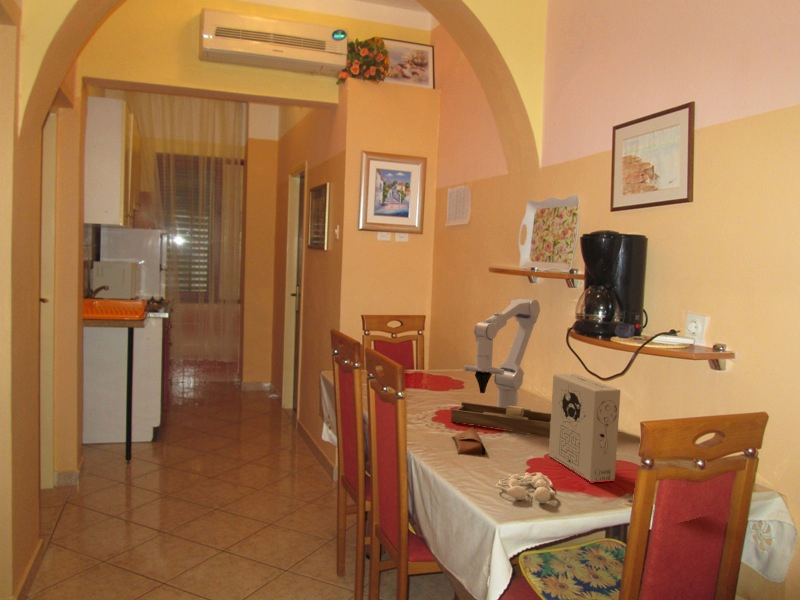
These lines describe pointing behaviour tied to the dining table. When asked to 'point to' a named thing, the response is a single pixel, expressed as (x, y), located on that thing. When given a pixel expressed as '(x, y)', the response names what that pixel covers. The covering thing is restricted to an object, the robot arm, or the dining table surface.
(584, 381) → the cereal box
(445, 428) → the dining table surface
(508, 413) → the birch block
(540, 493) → the tangled rod sculpture
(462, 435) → the sunglasses case
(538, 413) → the trap lane
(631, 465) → the dining table surface
